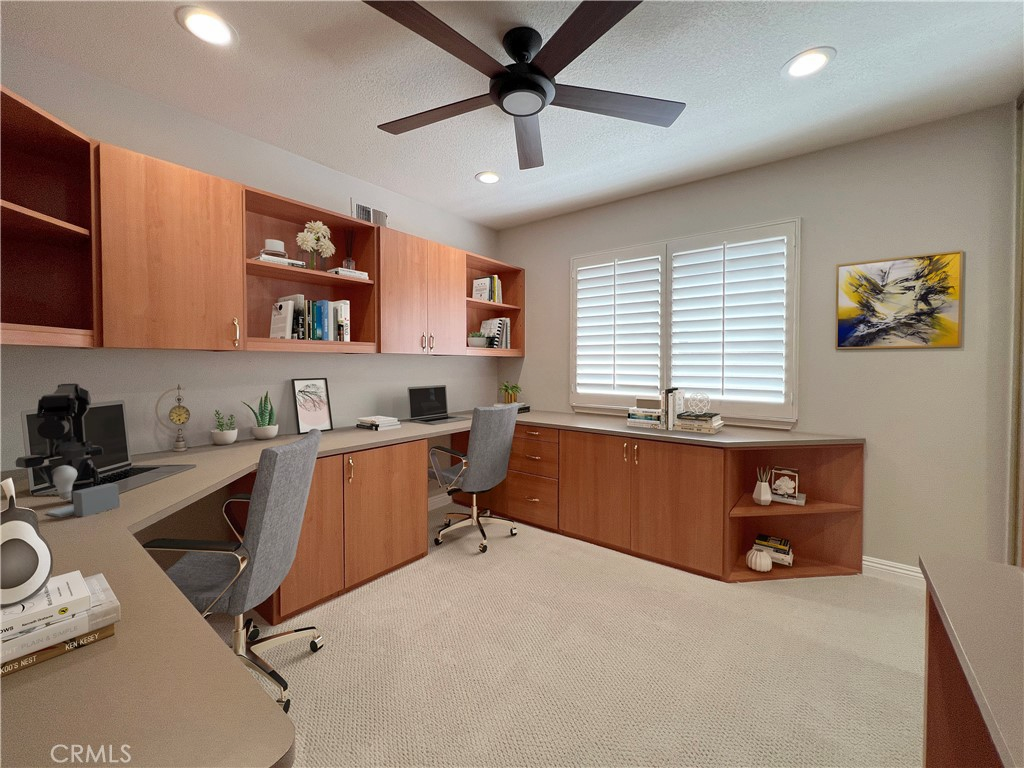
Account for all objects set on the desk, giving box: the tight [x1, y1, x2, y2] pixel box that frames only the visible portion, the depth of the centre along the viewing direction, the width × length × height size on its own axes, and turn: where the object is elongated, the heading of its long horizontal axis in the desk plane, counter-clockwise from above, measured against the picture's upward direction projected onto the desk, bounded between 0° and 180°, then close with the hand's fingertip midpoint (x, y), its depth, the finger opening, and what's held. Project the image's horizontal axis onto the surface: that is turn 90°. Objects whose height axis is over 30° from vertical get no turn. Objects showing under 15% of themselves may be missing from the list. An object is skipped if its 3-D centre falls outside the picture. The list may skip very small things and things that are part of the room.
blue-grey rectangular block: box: [72, 482, 121, 518], centre depth 146 cm, size 5×10×8 cm, turn 160°
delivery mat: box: [45, 504, 74, 518], centre depth 146 cm, size 9×9×1 cm
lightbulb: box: [51, 464, 77, 501], centre depth 136 cm, size 6×6×11 cm
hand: (64, 482), depth 136 cm, fingers closed on lightbulb, 6 cm apart
